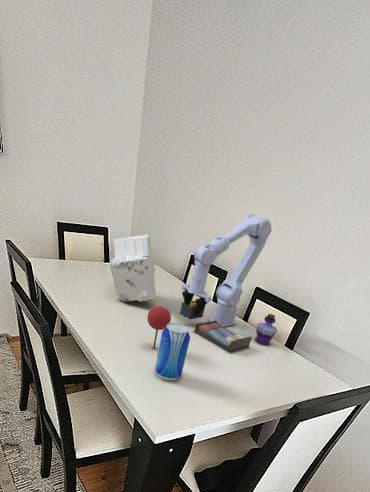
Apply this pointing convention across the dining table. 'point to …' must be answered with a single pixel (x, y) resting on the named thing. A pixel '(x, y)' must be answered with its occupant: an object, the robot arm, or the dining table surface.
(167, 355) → the beer can
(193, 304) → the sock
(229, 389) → the dining table surface
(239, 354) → the dining table surface
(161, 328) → the lollipop
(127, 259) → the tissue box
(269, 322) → the potion bottle
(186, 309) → the bin
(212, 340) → the bed
